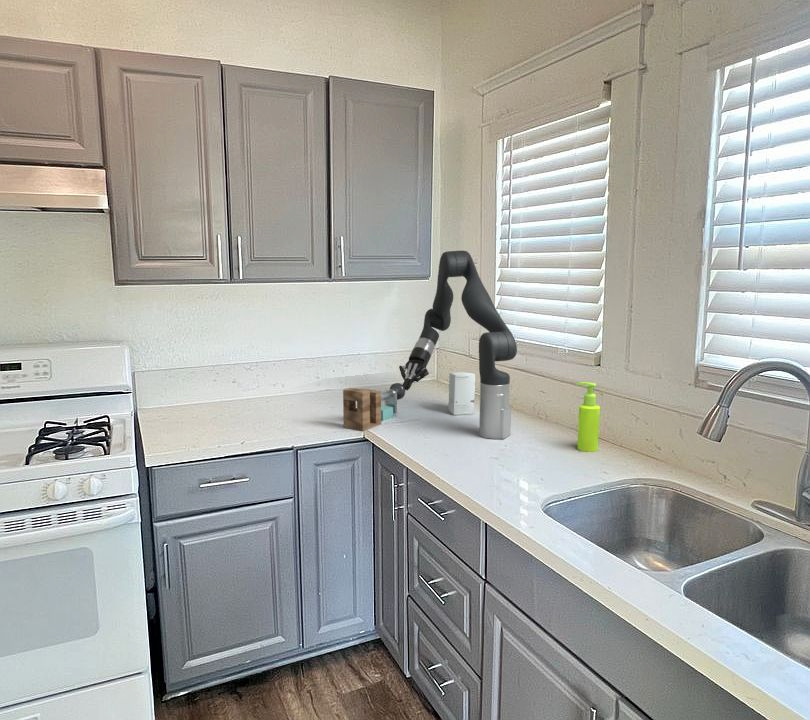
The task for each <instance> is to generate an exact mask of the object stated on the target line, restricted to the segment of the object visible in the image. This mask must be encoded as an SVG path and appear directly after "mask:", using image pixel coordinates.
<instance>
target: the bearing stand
mask: <svg viewBox="0 0 810 720" xmlns="http://www.w3.org/2000/svg"><path fill="white" fill-rule="evenodd" d="M381 392H382V391H381V390H374V389H368V388H356V387H348V388H344V389H343V390H342V394H343V395H342V403H343V428H345V429H350V430H354V431H359V432H360V431H361V432H365V431H367V430H371V429H372V428H375V427H377V426H381V425H382V421H381V405H382V401H381ZM370 397H371V405H370Z"/></svg>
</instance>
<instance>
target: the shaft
mask: <svg viewBox="0 0 810 720" xmlns="http://www.w3.org/2000/svg"><path fill="white" fill-rule="evenodd" d="M405 395H406V390H405V389H404V387H403V383H400V382H395V383H392V384H391V385H390V387H389V388H388V389H385V390H383V391H381V402H383V401H384V406H389V407H393V415H396V414H398V401H399V400H401V399H403V398H404V397H405ZM370 405H371V397H370Z"/></svg>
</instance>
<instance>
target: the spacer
mask: <svg viewBox="0 0 810 720" xmlns="http://www.w3.org/2000/svg"><path fill="white" fill-rule="evenodd" d="M390 418H391V419H393V418H394V414H393V407H389V406H385V405H382V404H381V422H385V421H387V419H388V420H391V419H390ZM384 420H385V421H384Z"/></svg>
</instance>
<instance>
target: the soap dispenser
mask: <svg viewBox="0 0 810 720" xmlns="http://www.w3.org/2000/svg"><path fill="white" fill-rule="evenodd" d="M576 385H577V386H587V389H586V390H587V392H586V393H584V394H583V395H584V396H583V404H579V406H578V423H577V424H578V425H577V427H578V428H577V446H576V448H577V450H578V451H579V452H580V451H581V452H586V453H594V452H595V453H596V452H597V451H598V450H599V438H600V437H599V436H600V419H601V418H600V417H601V416H600V415H601V406H600V405H598V404H597V394H595V393H594V388H595V387H597V385H598V384H597V383H594V382H589V381H582V382H577V383H576Z"/></svg>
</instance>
